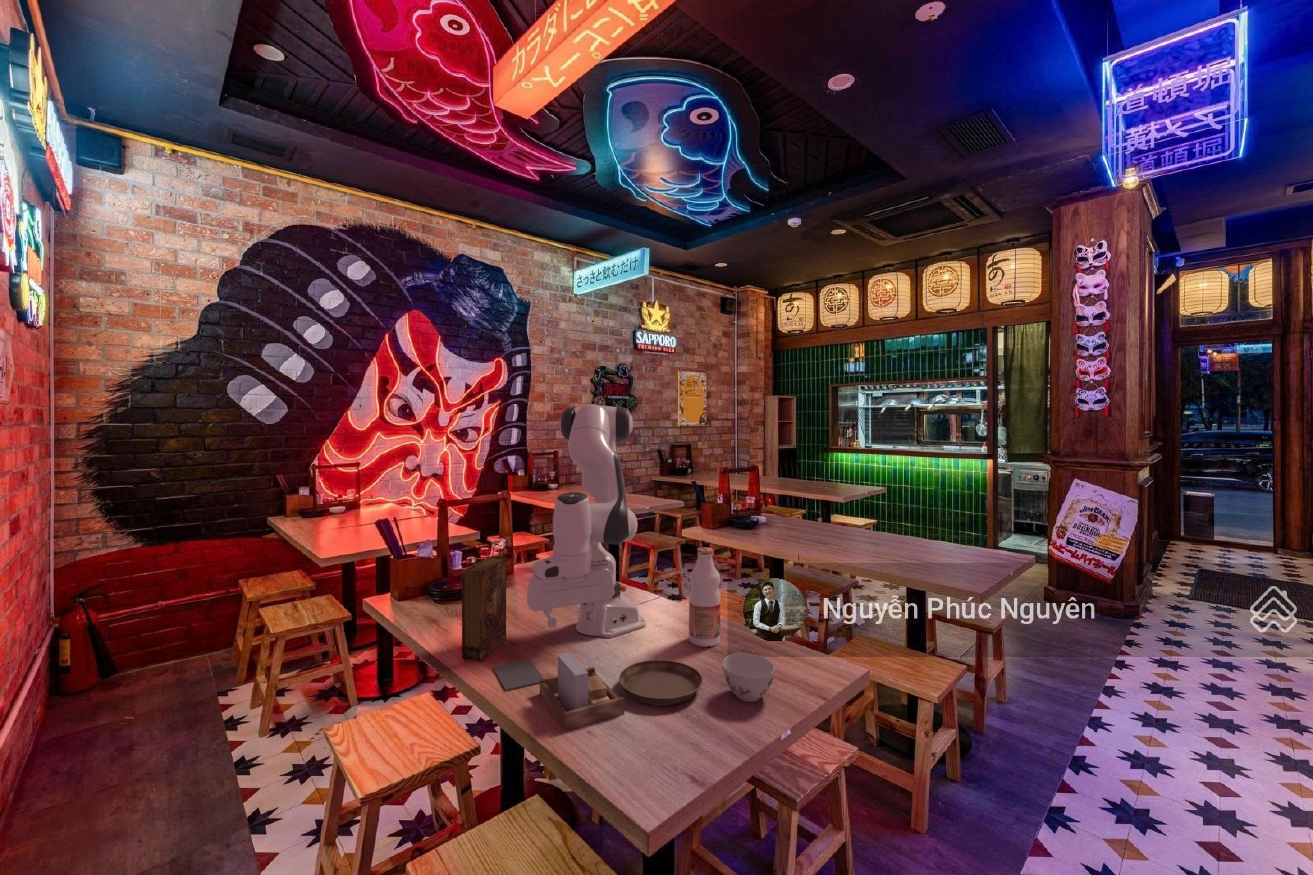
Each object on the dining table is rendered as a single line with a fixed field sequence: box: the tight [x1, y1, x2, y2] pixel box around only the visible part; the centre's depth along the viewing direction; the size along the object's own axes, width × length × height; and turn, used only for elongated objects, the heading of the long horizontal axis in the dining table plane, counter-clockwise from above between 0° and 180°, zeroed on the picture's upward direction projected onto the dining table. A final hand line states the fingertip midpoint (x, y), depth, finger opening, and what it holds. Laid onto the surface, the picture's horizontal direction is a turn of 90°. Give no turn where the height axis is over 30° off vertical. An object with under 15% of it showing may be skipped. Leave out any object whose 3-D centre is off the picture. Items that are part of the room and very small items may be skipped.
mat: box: [492, 658, 545, 692], centre depth 141 cm, size 10×14×1 cm
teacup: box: [722, 652, 776, 703], centre depth 131 cm, size 15×12×8 cm
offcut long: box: [588, 696, 610, 706], centre depth 128 cm, size 4×10×2 cm, turn 28°
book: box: [461, 556, 507, 662], centre depth 156 cm, size 16×6×25 cm, turn 168°
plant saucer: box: [618, 659, 704, 707], centre depth 134 cm, size 21×21×3 cm
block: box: [557, 652, 588, 711], centre depth 125 cm, size 3×12×10 cm, turn 29°
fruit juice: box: [688, 546, 722, 648], centre depth 163 cm, size 9×9×28 cm
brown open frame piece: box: [539, 666, 625, 732], centre depth 127 cm, size 14×18×4 cm
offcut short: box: [588, 674, 607, 700], centre depth 128 cm, size 4×7×2 cm, turn 22°
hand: (571, 623), depth 125 cm, fingers open, 8 cm apart
